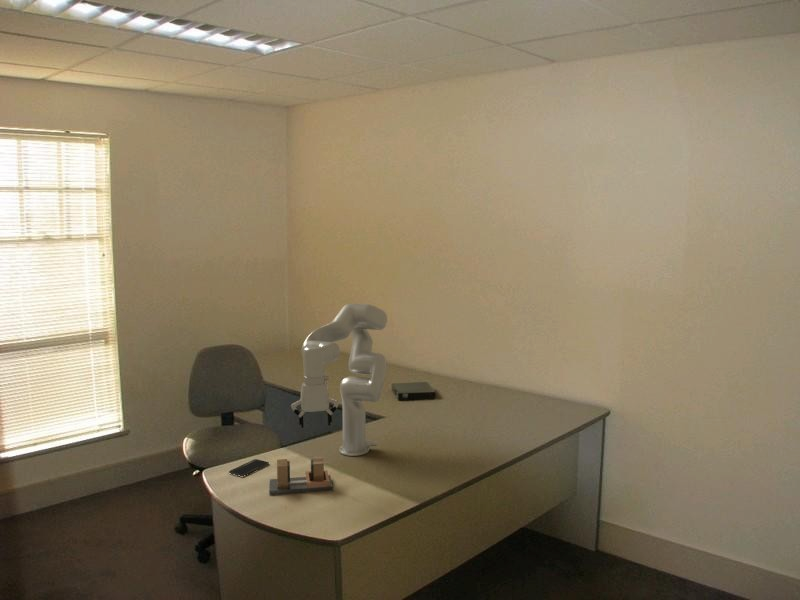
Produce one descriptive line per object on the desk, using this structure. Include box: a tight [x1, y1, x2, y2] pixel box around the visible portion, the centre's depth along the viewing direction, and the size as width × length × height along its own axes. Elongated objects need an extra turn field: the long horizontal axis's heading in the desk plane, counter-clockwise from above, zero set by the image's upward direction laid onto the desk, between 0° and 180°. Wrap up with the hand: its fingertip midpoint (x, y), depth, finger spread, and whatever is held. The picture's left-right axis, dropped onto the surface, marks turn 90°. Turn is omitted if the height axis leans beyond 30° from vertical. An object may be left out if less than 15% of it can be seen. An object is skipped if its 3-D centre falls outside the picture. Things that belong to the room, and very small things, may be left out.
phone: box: [228, 458, 270, 476], centre depth 240 cm, size 8×1×15 cm
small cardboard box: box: [310, 456, 325, 481], centre depth 225 cm, size 6×4×8 cm
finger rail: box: [268, 458, 333, 496], centre depth 224 cm, size 22×10×10 cm, turn 101°
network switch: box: [391, 381, 437, 402], centre depth 344 cm, size 23×24×5 cm
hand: (315, 425), depth 226 cm, fingers open, 9 cm apart
